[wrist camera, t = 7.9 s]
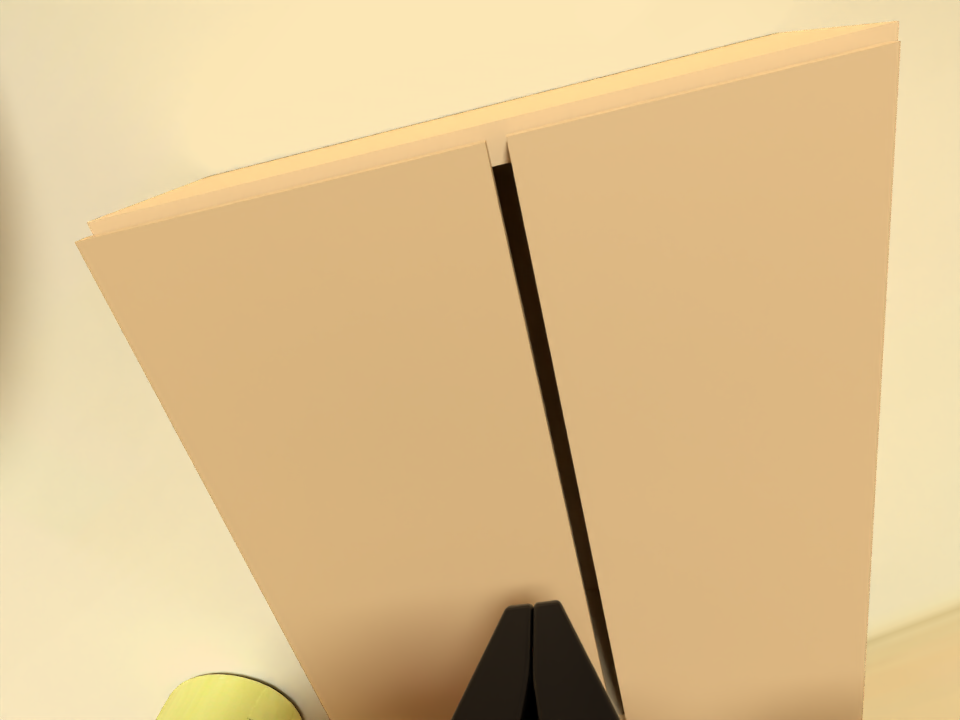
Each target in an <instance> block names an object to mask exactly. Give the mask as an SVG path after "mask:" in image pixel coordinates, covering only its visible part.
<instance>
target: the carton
mask: <svg viewBox="0 0 960 720" xmlns="http://www.w3.org/2000/svg"><path fill="white" fill-rule="evenodd" d="M898 30H899V21H892V22H882V23H872V24H862V25H852V26H842V27H832V28H822V29H812V30H802V31H792V32H782V33H775V34H771V35H767V36H763V37H759V38H755V39H751V40H747V41H743V42H739V43H735V44H731V45H727V46H723V47H719V48H715V49H711V50H707V51H703V52H699V53H695V54H691V55H687V56H683V57H680V58H676V59H672V60H668V61H664V62H660V63H656V64H652V65H648V66H644V67H640V68H636V69H632V70H628V71H624V72H620V73H616V74H612V75H608V76H604V77H600V78H596V79H592V80H589V81H585V82H581V83H577V84H573V85H569V86H565V87H561V88H557V89H553V90H549V91H545V92H541V93H537V94H533V95H529V96H525V97H521V98H517V99H513V100H509V101H505V102H501V103H497V104H494V105H490V106H486V107H482V108H478V109H474V110H470V111H466V112H462V113H458V114H454V115H450V116H446V117H442V118H438V119H434V120H430V121H426V122H422V123H418V124H414V125H410V126H406V127H403V128H399V129H395V130H391V131H387V132H383V133H379V134H375V135H371V136H367V137H363V138H359V139H355V140H351V141H347V142H343V143H339V144H335V145H331V146H327V147H323V148H319V149H315V150H311V151H308V152H304V153H300V154H296V155H292V156H288V157H284V158H280V159H276V160H272V161H268V162H264V163H260V164H256V165H252V166H248V167H244V168H240V169H236V170H232V171H228V172H224V173H220V174H217V175H213V176H209V177H206V178H203V179H201V180H198V181H195V182H193V183H190V184H187V185H185V186H182V187H179V188H177V189H174V190H171V191H169V192H166V193H163V194H161V195H158V196H156V197H153V198H150V199H148V200H145V201H142V202H140V203H137V204H134V205H132V206H129V207H126V208H124V209H121V210H118V211H116V212H113V213H110V214H108V215H105V216H103V217H100V218H97V219H95V220H92V221H89V222H87V224H88V226H89V228H90V230H91V231H92V233H93V236H89V237H86V238H83V239H81V240H79V241H76V242H75V244H76V246H77V247H78V249H79V251H80V253H81V255H82V257H83V259H84V261H85V262H86V264H87V266H88V268H89V270H90V272H91V274H92V275H93V277H94V279H95V281H96V283H97V285H98V287H99V289H100V290H101V292H102V294H103V296H104V298H105V300H106V302H107V304H108V305H109V307H110V309H111V311H112V313H113V315H114V317H115V319H116V320H117V322H118V324H119V326H120V328H121V330H122V332H123V333H124V335H125V337H126V339H127V341H128V343H129V345H130V347H131V348H132V350H133V352H134V354H135V356H136V358H137V360H138V362H139V363H140V365H141V367H142V369H143V371H144V373H145V375H146V377H147V378H148V380H149V382H150V384H151V386H152V388H153V390H154V391H155V393H156V395H157V397H158V399H159V401H160V403H161V405H162V406H163V408H164V410H165V412H166V414H167V416H168V418H169V420H170V421H171V423H172V425H173V427H174V429H175V431H176V433H177V435H178V436H179V438H180V440H181V442H182V444H183V446H184V448H185V449H186V451H187V453H188V455H189V457H190V459H191V461H192V463H193V464H194V466H195V468H196V470H197V472H198V474H199V476H200V478H201V479H202V481H203V483H204V485H205V487H206V489H207V491H208V493H209V494H210V496H211V498H212V500H213V502H214V504H215V506H216V507H217V509H218V511H219V513H220V515H221V517H222V519H223V521H224V522H225V524H226V526H227V528H228V530H229V532H230V534H231V536H232V537H233V539H234V541H235V543H236V545H237V547H238V549H239V551H240V552H241V554H242V556H243V558H244V560H245V562H246V564H247V565H248V567H249V569H250V571H251V573H252V575H253V577H254V579H255V580H256V582H257V584H258V586H259V588H260V590H261V592H262V594H263V595H264V597H265V599H266V601H267V603H268V605H269V607H270V609H271V610H272V612H273V614H274V616H275V618H276V620H277V622H278V623H279V625H280V627H281V629H282V631H283V633H284V635H285V637H286V638H287V640H288V642H289V644H290V646H291V648H292V650H293V652H294V653H295V655H296V657H297V659H298V661H299V663H300V665H301V666H302V668H303V670H304V672H305V674H306V676H307V678H308V680H309V681H310V683H311V685H312V687H313V689H314V691H315V693H316V695H317V696H318V698H319V700H320V702H321V704H322V706H323V708H324V710H325V711H326V713H327V715H328V717H329V719H330V720H451V718H452V716H453V714H454V712H455V710H456V708H457V706H458V704H459V702H460V700H461V698H462V696H463V694H464V692H465V690H466V688H467V685H468V683H469V681H470V679H471V677H472V675H473V673H474V671H475V669H476V667H477V665H478V663H479V661H480V659H481V657H482V655H483V653H484V651H485V649H486V647H487V645H488V643H489V640H490V638H491V636H492V634H493V632H494V630H495V628H496V626H497V624H498V622H499V620H500V618H501V616H502V614H503V612H504V610H505V609H506V608H507V607H508V606H511V605H518V604H526V603H529V604H532V605H533V607H534V604H535V603H537V602H543V601H551V600H558V601H560V602H561V604H562V605H563V607H564V609H565V611H566V613H567V615H568V617H569V619H570V621H571V623H572V625H573V627H574V629H575V631H576V633H577V635H578V637H579V639H580V641H581V643H582V645H583V647H584V649H585V651H586V653H587V655H588V657H589V659H590V661H591V662H592V664H593V666H594V668H595V670H596V672H597V674H598V676H599V678H600V680H601V682H602V684H603V686H604V688H605V690H606V692H607V694H608V696H609V698H610V700H611V702H612V704H613V706H614V708H615V710H616V712H617V714H618V716H619V718H620V720H626V717H625V712H624V708H623V703H622V698H621V693H620V688H619V683H618V678H617V674H616V669H615V664H614V659H613V654H612V649H611V644H610V640H609V635H608V630H607V625H606V620H605V615H604V610H603V605H602V601H601V596H600V591H599V586H598V581H597V576H596V571H595V567H594V562H593V557H592V552H591V547H590V542H589V537H588V533H587V528H586V523H585V518H584V513H583V508H582V503H581V499H580V494H579V489H578V484H577V479H576V474H575V469H574V465H573V460H572V455H571V450H570V445H569V440H568V435H567V431H566V426H565V421H564V416H563V411H562V406H561V401H560V396H559V392H558V387H557V382H556V377H555V372H554V367H553V362H552V358H551V353H550V348H549V343H548V338H547V333H546V328H545V324H544V319H543V314H542V309H541V304H540V299H539V294H538V290H537V285H536V280H535V275H534V270H533V265H532V260H531V256H530V251H529V246H528V241H527V236H526V231H525V226H524V221H523V217H522V212H521V207H520V202H519V197H518V192H517V187H516V183H515V178H514V173H513V168H512V163H511V158H510V153H509V149H508V144H507V139H506V135H507V134H510V133H514V132H518V131H522V130H527V129H531V128H535V127H539V126H543V125H547V124H551V123H555V122H560V121H564V120H568V119H572V118H576V117H580V116H584V115H588V114H592V113H597V112H601V111H605V110H609V109H613V108H617V107H621V106H625V105H629V104H634V103H638V102H642V101H646V100H650V99H654V98H658V97H662V96H666V95H671V94H675V93H679V92H683V91H687V90H691V89H695V88H699V87H703V86H708V85H712V84H716V83H720V82H724V81H728V80H732V79H736V78H740V77H745V76H749V75H753V74H757V73H761V72H765V71H769V70H773V69H777V68H782V67H786V66H790V65H794V64H798V63H802V62H806V61H810V60H815V59H819V58H823V57H827V56H831V55H835V54H839V53H843V52H847V51H852V50H856V49H860V48H864V47H868V46H872V45H876V44H880V43H884V42H893V41H898Z"/></svg>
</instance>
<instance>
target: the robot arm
mask: <svg viewBox="0 0 960 720" xmlns="http://www.w3.org/2000/svg"><path fill="white" fill-rule="evenodd" d="M451 720H620V718H619V716H618V714H617V712H616V710H615V708H614V706H613V704H612V702H611V700H610V698H609V696H608V694H607V692H606V690H605V688H604V686H603V684H602V682H601V680H600V678H599V676H598V674H597V672H596V670H595V668H594V666H593V664H592V662H591V661H590V659H589V657H588V655H587V653H586V651H585V649H584V647H583V645H582V643H581V641H580V639H579V637H578V635H577V633H576V631H575V629H574V627H573V625H572V623H571V621H570V619H569V617H568V615H567V613H566V611H565V609H564V607H563V605H562V604H561V602H560V601H558V600H551V601H543V602H537V603H535V604H534V607H533V605H532V604H529V603H526V604H518V605H511V606H508V607H507V608H506V609H505V610H504V612H503V614H502V616H501V618H500V620H499V622H498V624H497V626H496V628H495V630H494V632H493V634H492V636H491V638H490V640H489V643H488V645H487V647H486V649H485V651H484V653H483V655H482V657H481V659H480V661H479V663H478V665H477V667H476V669H475V671H474V673H473V675H472V677H471V679H470V681H469V683H468V685H467V688H466V690H465V692H464V694H463V696H462V698H461V700H460V702H459V704H458V706H457V708H456V710H455V712H454V714H453V716H452V718H451Z"/></svg>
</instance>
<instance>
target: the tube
mask: <svg viewBox="0 0 960 720" xmlns="http://www.w3.org/2000/svg"><path fill="white" fill-rule="evenodd" d="M156 720H301V717H300V715H299V713H298V711H297V710H296V708H295V707H294V706H293V704H292V703H291V702H290V701H289V700H287V699H286V698H285V697H284V696H283V695H281V694H280V693H279V692H277V691H276V690H274V689H272V688H270V687H269V686H266V685H264V684H262V683H260V682H257V681H254V680H251V679H247V678H243V677H239V676H233V675H224V674H208V675H203V676H198V677H194V678H191V679H189V680H187V681H185V682H183V683H182V684H180V685H179V686H178V687H177V688H176V689H175V690H174V691H173V692H172V693H171V695H170V696H169V698H168V699H167V701H166V703H165V705H164V706H163V708H162V710H161V711H160V713H159V715H158V717H157V719H156Z"/></svg>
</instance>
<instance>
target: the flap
mask: <svg viewBox="0 0 960 720" xmlns="http://www.w3.org/2000/svg"><path fill="white" fill-rule="evenodd" d="M900 43H901V41H893V42H884V43H880V44H876V45H872V46H868V47H864V48H860V49H856V50H852V51H847V52H843V53H839V54H835V55H831V56H827V57H823V58H819V59H815V60H810V61H806V62H802V63H798V64H794V65H790V66H786V67H782V68H777V69H773V70H769V71H765V72H761V73H757V74H753V75H749V76H745V77H740V78H736V79H732V80H728V81H724V82H720V83H716V84H712V85H708V86H703V87H699V88H695V89H691V90H687V91H683V92H679V93H675V94H671V95H666V96H662V97H658V98H654V99H650V100H646V101H642V102H638V103H634V104H629V105H625V106H621V107H617V108H613V109H609V110H605V111H601V112H597V113H592V114H588V115H584V116H580V117H576V118H572V119H568V120H564V121H560V122H555V123H551V124H547V125H543V126H539V127H535V128H531V129H527V130H522V131H518V132H514V133H510V134H507V135H506V139H507V144H508V149H509V153H510V158H511V163H512V168H513V173H514V178H515V183H516V187H517V192H518V197H519V202H520V207H521V212H522V217H523V221H524V226H525V231H526V236H527V241H528V246H529V251H530V256H531V260H532V265H533V270H534V275H535V280H536V285H537V290H538V294H539V299H540V304H541V309H542V314H543V319H544V324H545V328H546V333H547V338H548V343H549V348H550V353H551V358H552V362H553V367H554V372H555V377H556V382H557V387H558V392H559V396H560V401H561V406H562V411H563V416H564V421H565V426H566V431H567V435H568V440H569V445H570V450H571V455H572V460H573V465H574V469H575V474H576V479H577V484H578V489H579V494H580V499H581V503H582V508H583V513H584V518H585V523H586V528H587V533H588V537H589V542H590V547H591V552H592V557H593V562H594V567H595V571H596V576H597V581H598V586H599V591H600V596H601V601H602V605H603V610H604V615H605V620H606V625H607V630H608V635H609V640H610V644H611V649H612V654H613V659H614V664H615V669H616V674H617V678H618V683H619V688H620V693H621V698H622V703H623V708H624V712H625V717H626V720H862V714H863V697H864V679H865V661H866V644H867V626H868V608H869V591H870V573H871V555H872V538H873V520H874V502H875V485H876V467H877V449H878V432H879V414H880V396H881V379H882V361H883V343H884V326H885V308H886V290H887V273H888V255H889V237H890V220H891V202H892V184H893V167H894V149H895V131H896V114H897V96H898V78H899V61H900Z"/></svg>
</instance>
